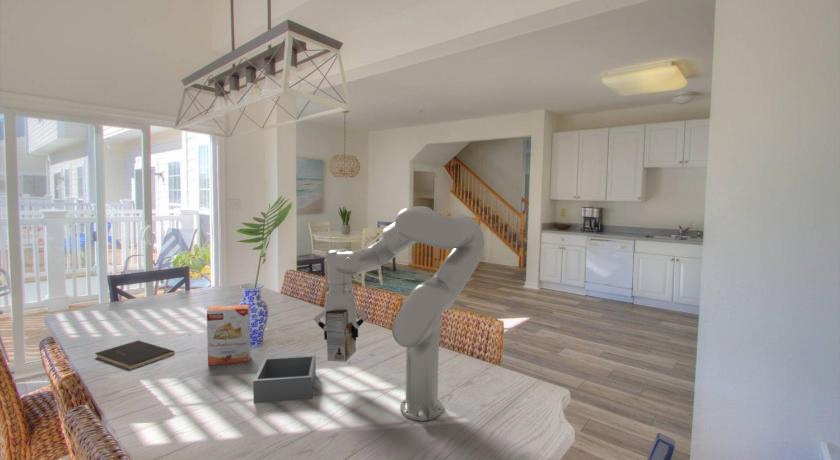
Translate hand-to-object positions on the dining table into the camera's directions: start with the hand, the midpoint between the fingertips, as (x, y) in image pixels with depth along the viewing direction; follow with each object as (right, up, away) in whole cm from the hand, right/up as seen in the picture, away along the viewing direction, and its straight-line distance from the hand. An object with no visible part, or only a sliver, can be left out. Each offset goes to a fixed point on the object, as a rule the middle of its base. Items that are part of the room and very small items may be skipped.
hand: (341, 340), depth 131 cm
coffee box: (0, -6, 0) cm, 5 cm away
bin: (-18, -16, +1) cm, 24 cm away
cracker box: (-46, -14, +21) cm, 52 cm away
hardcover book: (-85, -14, +25) cm, 89 cm away
